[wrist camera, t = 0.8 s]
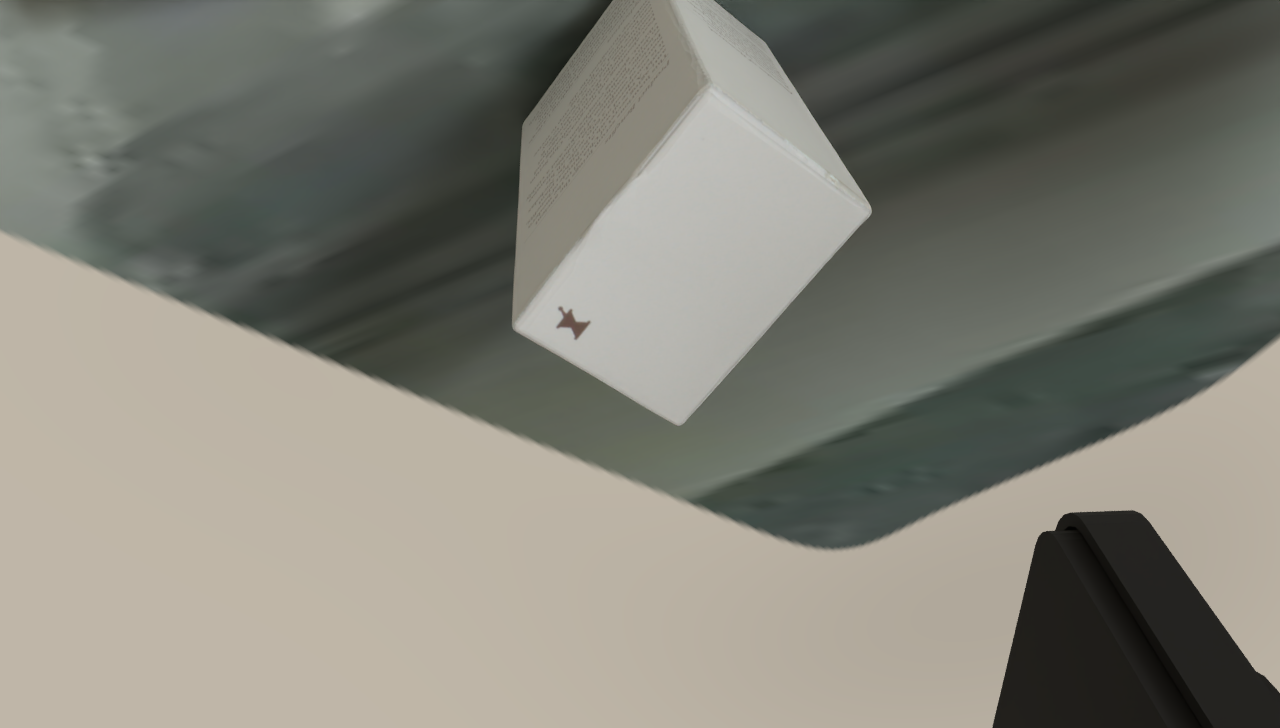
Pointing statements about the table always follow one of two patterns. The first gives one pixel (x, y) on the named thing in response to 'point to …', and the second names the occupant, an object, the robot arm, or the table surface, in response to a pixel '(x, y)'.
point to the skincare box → (671, 202)
